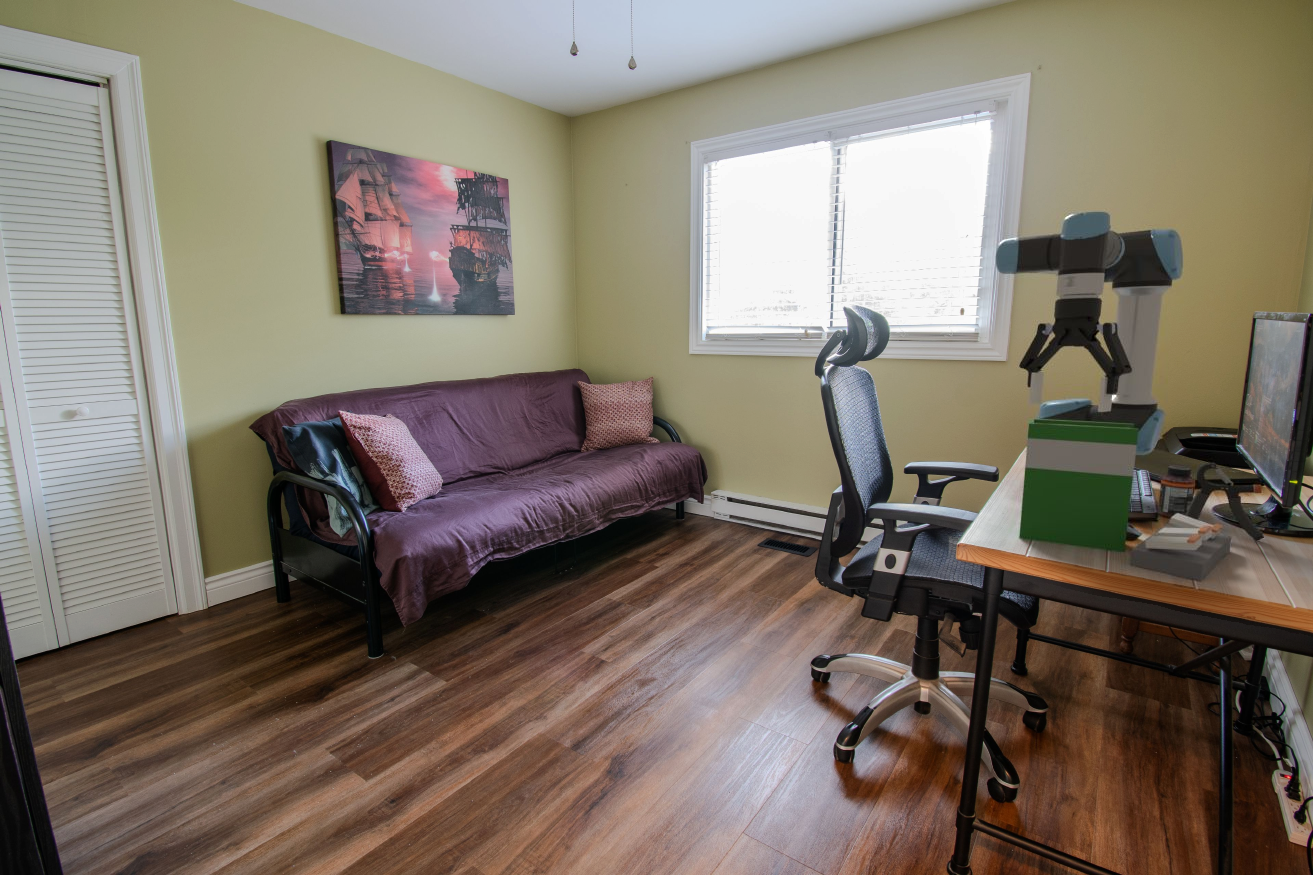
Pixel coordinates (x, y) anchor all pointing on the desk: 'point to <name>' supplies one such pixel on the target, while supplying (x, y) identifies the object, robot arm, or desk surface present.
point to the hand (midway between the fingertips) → (1067, 407)
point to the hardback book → (1078, 483)
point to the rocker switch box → (1182, 557)
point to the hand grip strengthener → (1232, 496)
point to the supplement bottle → (1176, 491)
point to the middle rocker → (1186, 532)
